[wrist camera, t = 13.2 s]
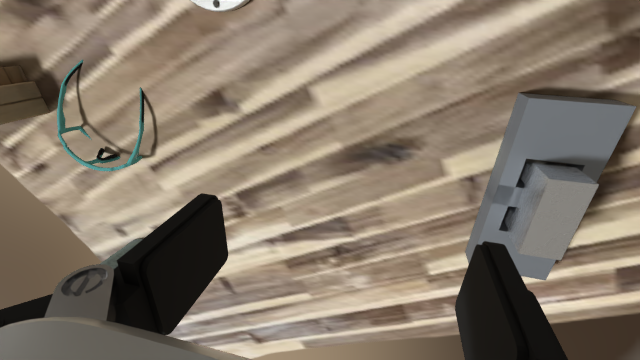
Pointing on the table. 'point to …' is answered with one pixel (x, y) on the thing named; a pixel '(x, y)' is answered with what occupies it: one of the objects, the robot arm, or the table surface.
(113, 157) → the sunglasses
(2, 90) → the block tower
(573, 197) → the grey concrete brick
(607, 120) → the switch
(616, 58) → the table surface
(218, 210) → the robot arm
